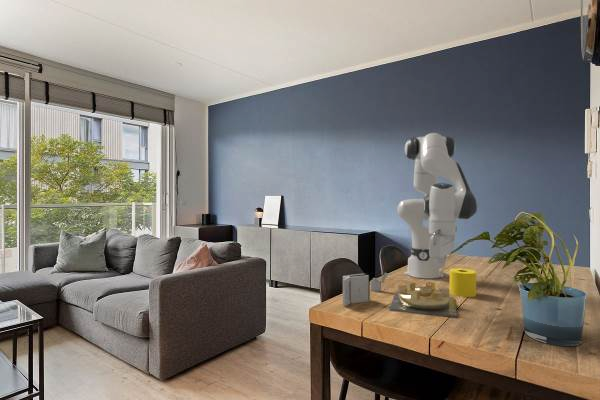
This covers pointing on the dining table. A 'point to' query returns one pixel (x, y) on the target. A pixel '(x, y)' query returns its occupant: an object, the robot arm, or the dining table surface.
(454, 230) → the robot arm
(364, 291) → the grey and black block
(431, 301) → the gold radial fin assembly
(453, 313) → the base plate
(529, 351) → the dining table surface
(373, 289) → the grey angled block
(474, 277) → the yellow toilet paper roll
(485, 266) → the dining table surface
